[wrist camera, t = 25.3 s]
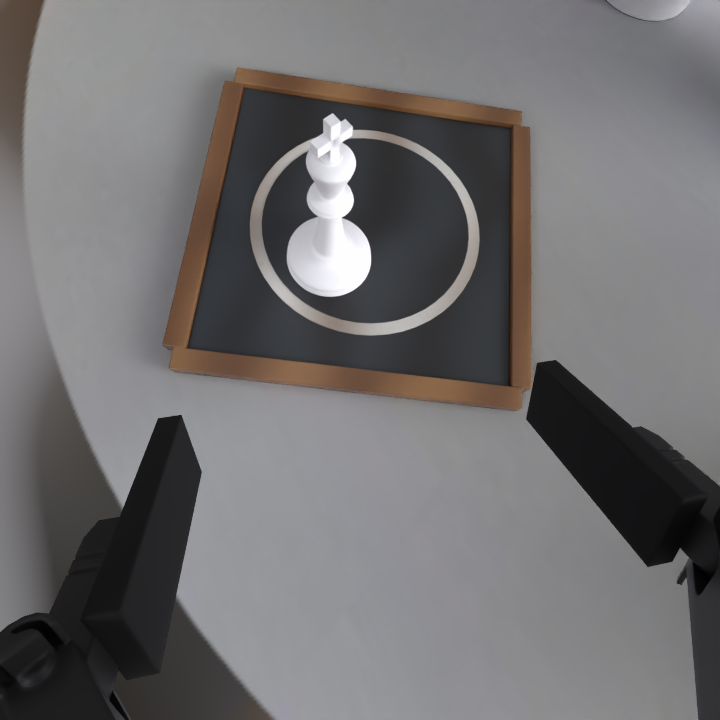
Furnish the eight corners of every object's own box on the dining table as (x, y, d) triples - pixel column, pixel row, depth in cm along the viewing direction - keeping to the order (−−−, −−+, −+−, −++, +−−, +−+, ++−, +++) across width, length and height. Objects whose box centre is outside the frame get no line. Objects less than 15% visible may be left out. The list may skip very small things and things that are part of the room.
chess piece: (269, 251, 24) (232, 107, 14) (334, 206, 25) (340, 44, 15) (323, 313, 23) (322, 205, 14) (388, 264, 24) (428, 132, 15)
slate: (163, 370, 23) (156, 367, 22) (230, 78, 28) (227, 65, 27) (525, 412, 24) (532, 410, 23) (524, 122, 29) (530, 112, 28)
